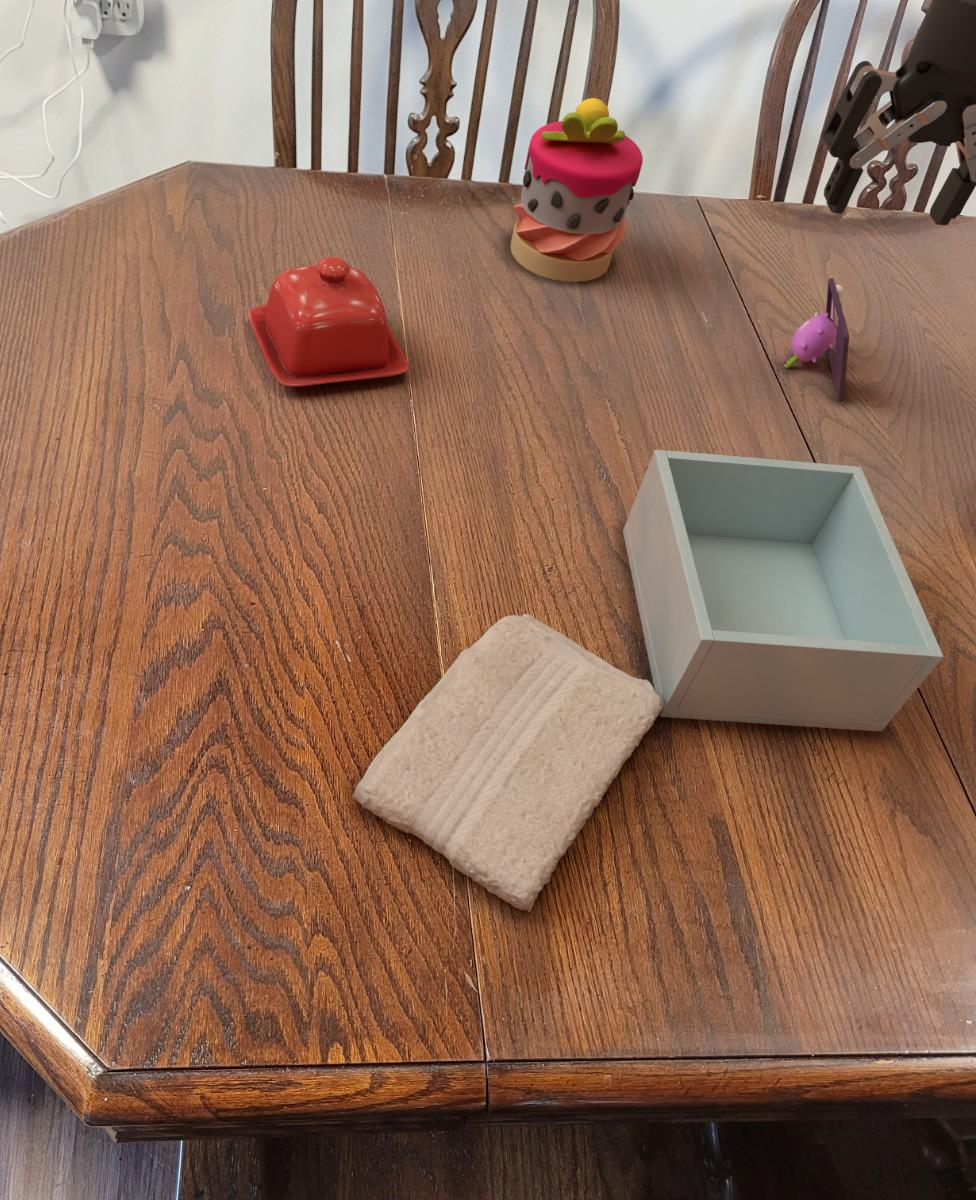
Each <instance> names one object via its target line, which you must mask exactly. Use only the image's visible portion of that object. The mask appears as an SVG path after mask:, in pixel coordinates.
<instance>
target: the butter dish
mask: <svg viewBox="0 0 976 1200" xmlns="http://www.w3.org/2000/svg"><path fill="white" fill-rule="evenodd" d="M270 288H271V289H270V291H269V296H268V298H267V299H268V300H267V303H265V304H261V305H257V306H253V307H252V308H250V309H249V310H248V312H247V317H248V321H249V324H250V326H251V328H252V330H253V332H254V336H255V337H256V340H257V342H258V345H259V347H260V349H261V352H262V354H263V356H264V358H265V361H266V363H267V366H268V368H269V370H270V372H271V374H272V375H273V377H274V379H275V380H276V381H277V383H278V384H280V385H282V386H283V387H289V388H290V387H291V388H293V387H294V388H297V387H298V388H299V387H310V386H315V385H317V386H318V385H323V384H324V385H325V384H332V383H342V382H343V383H344V382H350V381H359V380H360V381H361V380H362V381H363V380H369V379H370V380H371V379H379V378H389V377H394V376H399V375H402V374H405V373H407V372H409V370H410V364H409V361H408V359H407V357H406V355H405V353H404V351H403V349H402V347H401V345H400V344H399V342H398V340H397V338H396V337H395V335H394V333H393V331H392V330H391V328H390V326H389V325H388V321H387V320H388V319H387V313H386V310H385V306H384V304H383V300H382V298H381V296H380V294H379V293H378V291H377V289H376V287H375V285H374V284H373V282H372V281H371V279H369V277H368V275H366V274H365V273H364V272H363V271H361V270H360V269H359V268H357V267H354V266H349V264H348V262H346V261H345V259H342V258H341V257H337V256H327V257H324V258H322V259H320V260H319V261H318V262H317V264H313V265H312V264H311V265H304V266H299V267H296V268H295V267H294V268H290V269H288V270H285V271H282V272H281V273H280V274H278V275H277V276H276V277H275V279H274V281H273V283H272V285H271V287H270Z"/></svg>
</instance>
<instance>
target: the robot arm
mask: <svg viewBox="0 0 976 1200" xmlns="http://www.w3.org/2000/svg"><path fill="white" fill-rule="evenodd" d="M888 92H889V93H888ZM886 93H888V94H889V98H890V100H889V101H888V102H886V103H885V104H884V105H883V106H882V107H880V108H879V109H878V110H876V111H875V112H874V113H872V114H871V115H870V116H869V117H868V118H867V119H866V121H865V124H864V125H863V126H861V124H862V123H863V120H864V118H865V117H866V115H867V113H868V111H869V109H870V107H871V105H876V104H878V103H879V101H880V99H881V97H882V96H883V95H884V94H886ZM893 121H894V123H895V124H894V125H892V126H891V127H889V128H887V127H888V126H889V124H890V123H892V122H893ZM860 126H861V127H860ZM821 140H822V142H823V144H824V145H825V147H826V149H827V150H828V153H829V154H830V155H831V157H832V158H837V160H836V162H835V165H834V166H833V170H832V171H831V174H830V176H829V178H828V179H827V182H826V185H825V187H823V188H824V189H823V197H824V199H825V200H826V205H827V207H828V209H829V211H830V213H832V214H840V215H841V214H843V213H845V210H846V208H847V206H848V204H849V202H850V200H851V197H852V196H853V193H854V191H855V189H856V187H857V185H858V183H859V182H860V179H861V177H862V175H863V173H864V169H863V166H865V165H866V164H867V163H868V162H870V161H871V160H873V159H874V158H876V157H877V156H878V155H880V154H881V153H882V152H884V151H886V152H888V151H891V150H893V149H894V148H895V147H897V146H898V145H899V144H901V143H903V142H904V141H905V140H907V141H908V142H909V143H915V144H923V143H930V142H931V143H934V144H935V145H938V146H942V147H951V145H952V144H954V143H955V148H956V152H957V158H958V163H959V165H958V167H952V168H951V170H950V172H949V174H948V175H947V177H946V179H945V181H944V183H943V185H942V186H941V189H940V190H939V192H938V194H937V195H936V197H935V199H934V201H933V203H932V204H931V207H930V209H929V216H930V217H931V219H932V220H933V222H934V224H935V225H937V226H948V225H949V224H950V222H951V220H955V219H956V218H957V217H958V216H959V215H960V214H961V213H962V211H963V210H964V208H965V206H966V204H967V202H968V201H969V199H970V197H971V196H972V193H973V192H974V190H975V188H976V0H932V1H931V3H930V4H929V6H928V9H927V11H926V13H925V16H924V17H923V19H922V21H921V24H920V26H919V28H918V30H917V31H916V34H915V36H914V38H913V41H912V44H911V47H910V50H909V54H908V56H907V58H906V60H905V61H904V62H903V64H902V65H900V67H899V68H898V69H897V70H896V71H889V70H884V69H880V68H879V69H878V68H875V67H874V66H873V65H872V63H871V62H870V61H868V60H863V61H860V62H858V63H857V64H856V66H855V67H854V69H853V71H852V73H851V76H849V79H848V81H847V83H846V84H845V87H844V89H843V91H842V92H841V95H840V97H839V99H838V101H837V102H836V105H835V107H834V109H833V111H832V113H831V115H830V117H829V119H828V121H827V122H826V125H825V127H824V129H823V130H822V132H821Z"/></svg>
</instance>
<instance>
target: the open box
mask: <svg viewBox="0 0 976 1200" xmlns="http://www.w3.org/2000/svg"><path fill="white" fill-rule="evenodd" d="M622 534H623V538H624V543H625V548H626V552H627V559H628V563H629V568H630V574H631V578H632V583H633V588H634V593H635V598H636V602H637V607H638V613H639V618H640V623H641V629H642V632H643V638H644V642H645V647H646V648H645V649H646V652H647V658H648V663H649V667H650V672H651V673H650V674H651V677H652V682H653V689H654V691H655V693H656V694H657V695H659V696H660V698H661V699H662V700H663V708H662V709H661V711H660V712H659V716H660V717H661V718H672V719H673V718H674V719H687V720H688V719H689V720H701V721H702V720H704V721H718V722H719V721H720V722H731V723H732V722H735V723H748V724H763V725H776V726H777V725H778V726H792V727H809V728H823V729H824V728H825V729H826V728H827V729H838V730H839V729H840V730H852V731H853V730H854V731H868V732H883V730H884V729H885V728H886V727H887V726H888V724H889V723H890V722H891V721H892V720H893V718H894V717H895V716H896V715H897V714H898V713H899V712H900V711H901V709H902V707H904V705H905V704H906V703H907V702H908V700H909V699H910V698H911V697H912V696H913V694H914V693H915V692H916V691H917V690H918V688H919V687H920V686H921V685H922V684H923V682H924V681H925V680H926V679H927V678H928V677H929V675H931V673H932V672H933V670H934V669H935V668H936V667H937V665H938V664H940V662H941V661H942V659H943V658H944V654H943V652H942V650H941V647H940V645H939V643H938V641H937V638H936V636H935V633H934V631H933V628H932V626H931V624H930V622H929V620H928V617H927V615H926V613H925V611H924V608H923V606H922V603H921V601H920V599H919V597H918V594H917V592H916V589H915V587H914V585H913V583H912V580H911V578H910V576H909V574H908V570H907V569H906V566H905V564H904V562H903V560H902V558H901V555H900V553H899V551H898V549H897V546H896V544H895V541H894V539H893V537H892V534H891V533H890V530H889V528H888V525H887V523H886V520H885V518H884V516H883V514H882V512H881V509H880V507H879V505H878V503H877V500H876V498H875V495H874V493H873V491H872V489H871V486H870V484H869V481H868V479H867V477H866V475H865V473H864V470H863V468H862V466H856V465H855V466H854V465H845V464H832V463H821V462H811V461H799V460H798V461H797V460H786V459H785V460H784V459H774V458H762V457H760V458H759V457H753V456H752V457H750V456H741V455H740V456H739V455H728V454H714V453H703V452H691V451H680V450H679V451H678V450H664V449H654V451H653V454H652V456H651V458H650V460H649V463H648V466H647V469H646V472H645V474H644V476H643V479H642V481H641V484H640V487H639V489H638V491H637V494H636V497H635V500H634V501H633V505H632V507H631V509H630V511H629V515H628V517H627V519H626V522H625V524H624V527H623V529H622Z"/></svg>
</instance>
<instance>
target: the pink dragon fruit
mask: <svg viewBox="0 0 976 1200" xmlns="http://www.w3.org/2000/svg"><path fill="white" fill-rule="evenodd" d="M826 292H827V293H826V305H825V312H824V311H819V312H817V311H815V312H814V313H815V314H814V316H813V317H812V318H810V319H808V320H806V321H805V322H803V323H802V324H801V325H800V326H799V327H798V328H797V329H796V331H795V333H794V334H793V336H792V339H791V344H790V348H791V352H792V354H793V356H792V357H791V358H789V360H786V362H787V363H785V364H783V366H784V369H786V370H788V369H790V368H792V366H793V365H794V364H796V363H797V362H799V361H801V362H811V361H812V362H813V363H814V364H815V363H816V362H817V358H818V357H819V356H821V355H822V354H823V353H824V352H826V356H827V360H828V364H829V368H830V372H831V378H832V381H833V385H834V390H835V393H836V397H837V401H838V402H843V401H844V395H845V385H846V375H847V365H848V354H849V344H850V333H849V330H848V329H849V328H848V325H847V323H846V319H845V315H844V312H843V307H842V302H841V297H842V296H843V294H844V288H843V286H841V285H840V284H836V282H835V279H834V277H832V278H831V277H830V278H828V280H827V291H826ZM818 313H819V314H821V315H818ZM831 316H832V317H831ZM834 344H835V347H834ZM834 348H835V349H834ZM833 349H834V358H833V353H832V351H833Z"/></svg>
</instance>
